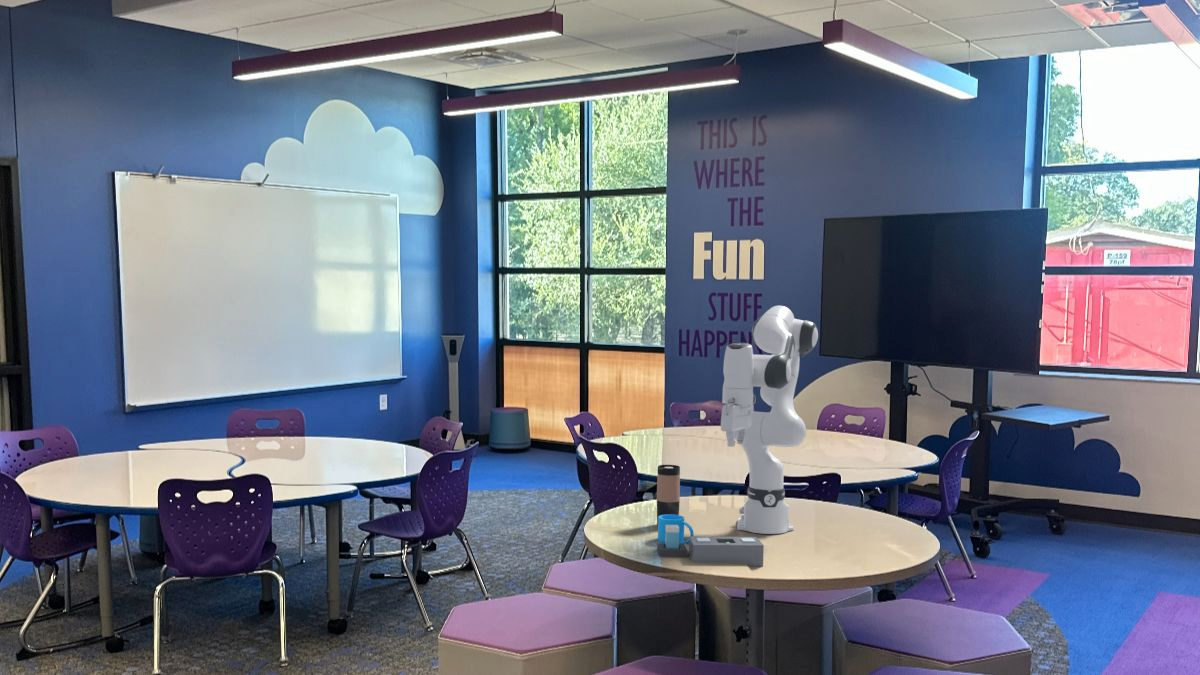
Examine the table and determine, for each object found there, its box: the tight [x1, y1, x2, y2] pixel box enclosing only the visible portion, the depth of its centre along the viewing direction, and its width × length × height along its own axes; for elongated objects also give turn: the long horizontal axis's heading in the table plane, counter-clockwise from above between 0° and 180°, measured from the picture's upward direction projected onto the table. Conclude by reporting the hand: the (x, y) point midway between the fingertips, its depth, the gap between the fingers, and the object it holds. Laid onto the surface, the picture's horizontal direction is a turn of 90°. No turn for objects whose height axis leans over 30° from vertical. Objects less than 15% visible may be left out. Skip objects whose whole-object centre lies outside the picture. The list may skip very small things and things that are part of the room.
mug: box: [657, 514, 694, 544], centre depth 299 cm, size 12×8×8 cm
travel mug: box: [656, 464, 681, 527], centre depth 324 cm, size 8×8×20 cm
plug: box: [665, 525, 679, 548], centre depth 284 cm, size 4×4×8 cm
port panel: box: [688, 535, 764, 567], centre depth 280 cm, size 10×20×6 cm, turn 92°
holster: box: [656, 542, 688, 558], centre depth 284 cm, size 8×8×3 cm
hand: (736, 445), depth 284 cm, fingers open, 8 cm apart
